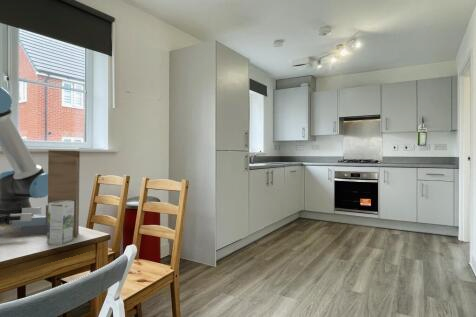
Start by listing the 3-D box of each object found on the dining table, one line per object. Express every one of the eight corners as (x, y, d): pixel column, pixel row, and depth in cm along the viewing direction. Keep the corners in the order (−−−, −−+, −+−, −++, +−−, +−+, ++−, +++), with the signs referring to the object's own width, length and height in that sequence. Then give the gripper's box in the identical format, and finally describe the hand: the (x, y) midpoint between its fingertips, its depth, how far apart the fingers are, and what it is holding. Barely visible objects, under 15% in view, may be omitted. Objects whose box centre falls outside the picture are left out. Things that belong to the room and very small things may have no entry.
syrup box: (59, 239, 105) (59, 199, 105) (74, 240, 104) (74, 200, 104) (46, 244, 99) (47, 202, 99) (62, 245, 98) (63, 202, 98)
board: (25, 231, 115) (25, 223, 115) (65, 228, 121) (65, 221, 121) (19, 235, 109) (19, 227, 109) (62, 232, 114) (62, 225, 114)
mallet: (11, 227, 109) (11, 206, 109) (15, 225, 113) (15, 204, 113) (63, 224, 115) (63, 204, 115) (65, 222, 119) (65, 202, 119)
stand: (52, 234, 111) (53, 150, 111) (78, 232, 114) (79, 151, 115) (47, 240, 104) (48, 150, 104) (75, 237, 107) (76, 150, 107)
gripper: (-17, 220, 117) (44, 216, 125) (-51, 235, 94) (26, 230, 102) (-17, 202, 117) (44, 199, 125) (-51, 213, 94) (27, 209, 102)
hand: (36, 213), depth 114 cm, fingers open, 13 cm apart
